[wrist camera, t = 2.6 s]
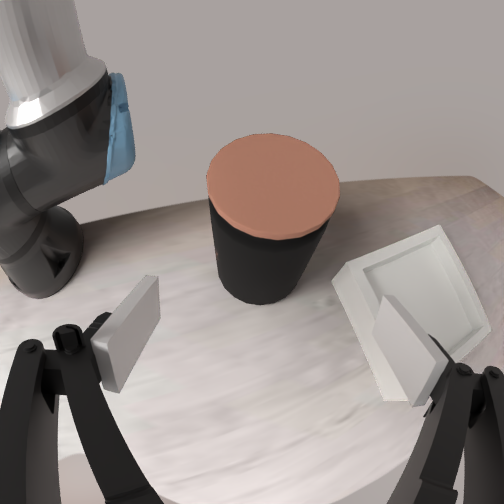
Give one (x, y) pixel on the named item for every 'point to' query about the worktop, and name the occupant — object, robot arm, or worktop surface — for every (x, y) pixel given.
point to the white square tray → (412, 299)
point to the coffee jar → (268, 213)
